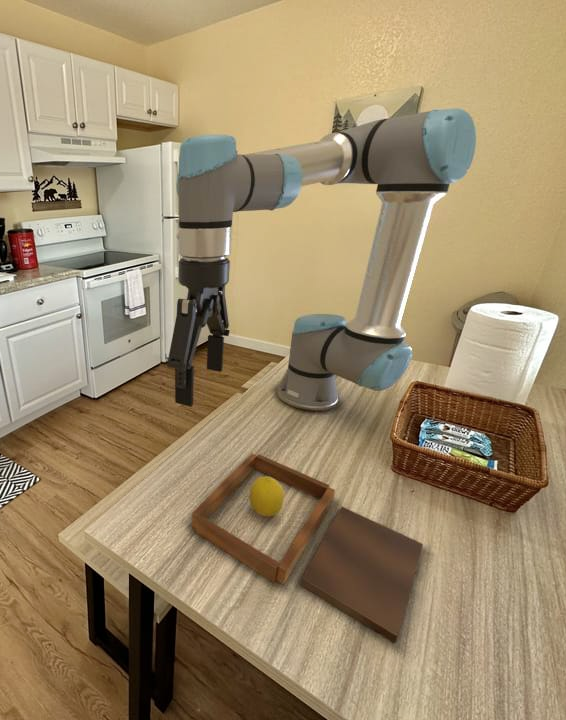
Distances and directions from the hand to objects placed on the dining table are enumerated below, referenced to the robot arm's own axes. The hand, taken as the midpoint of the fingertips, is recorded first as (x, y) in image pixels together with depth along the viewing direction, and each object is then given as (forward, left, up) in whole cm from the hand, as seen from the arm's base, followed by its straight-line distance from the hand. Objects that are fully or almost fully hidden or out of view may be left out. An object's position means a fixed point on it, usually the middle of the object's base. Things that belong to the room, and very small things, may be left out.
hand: (200, 385), depth 65 cm
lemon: (-3, +13, -23) cm, 26 cm away
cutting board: (-3, +29, -23) cm, 37 cm away
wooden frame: (-3, +13, -23) cm, 26 cm away
